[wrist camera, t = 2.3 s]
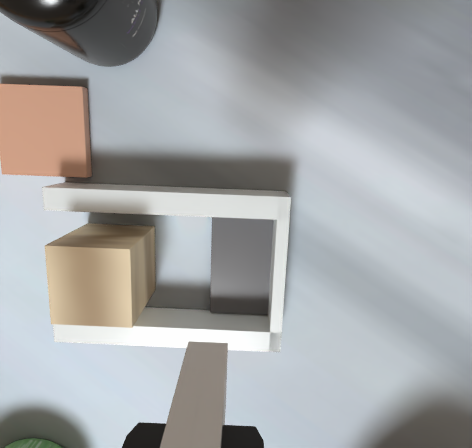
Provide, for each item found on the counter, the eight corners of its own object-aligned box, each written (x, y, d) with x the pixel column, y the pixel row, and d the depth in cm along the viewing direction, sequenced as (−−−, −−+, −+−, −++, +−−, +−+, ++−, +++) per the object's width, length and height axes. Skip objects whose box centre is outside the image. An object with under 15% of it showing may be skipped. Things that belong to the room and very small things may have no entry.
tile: (87, 88, 25) (82, 86, 24) (91, 176, 26) (87, 177, 25) (0, 85, 25) (-8, 83, 24) (9, 173, 26) (2, 174, 25)
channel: (285, 191, 26) (290, 197, 23) (276, 330, 28) (280, 352, 26) (64, 182, 26) (42, 187, 23) (73, 321, 29) (54, 341, 26)
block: (155, 226, 27) (130, 249, 21) (155, 289, 28) (132, 327, 22) (88, 223, 27) (44, 245, 21) (91, 286, 28) (51, 324, 22)
